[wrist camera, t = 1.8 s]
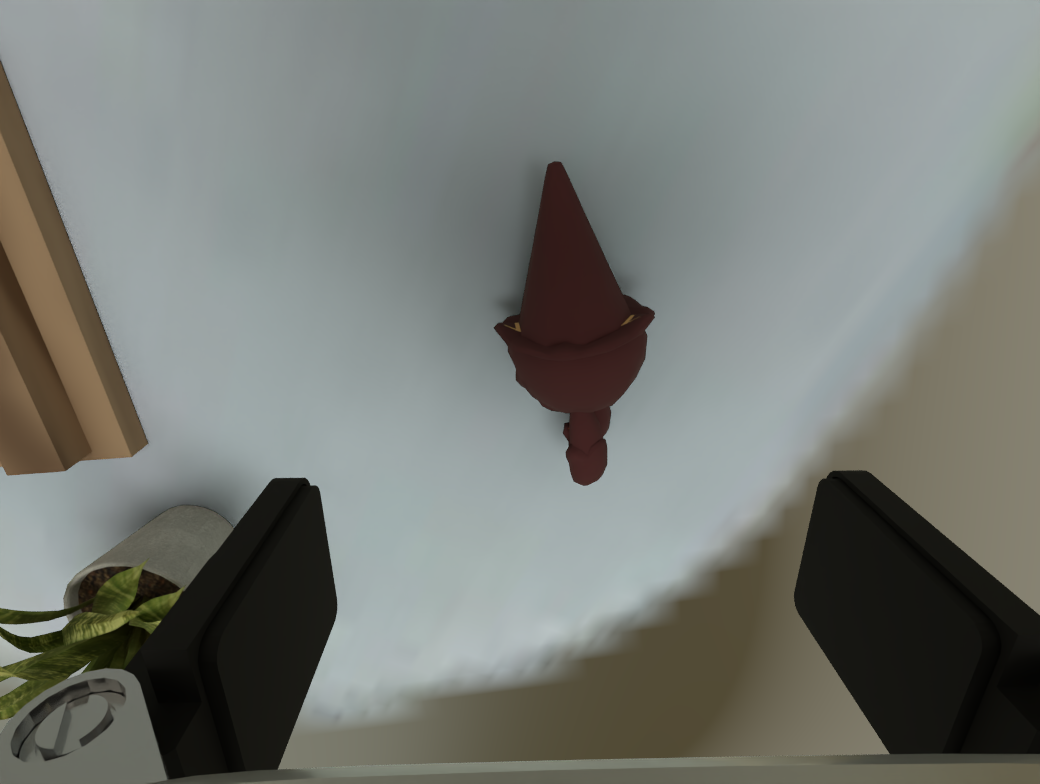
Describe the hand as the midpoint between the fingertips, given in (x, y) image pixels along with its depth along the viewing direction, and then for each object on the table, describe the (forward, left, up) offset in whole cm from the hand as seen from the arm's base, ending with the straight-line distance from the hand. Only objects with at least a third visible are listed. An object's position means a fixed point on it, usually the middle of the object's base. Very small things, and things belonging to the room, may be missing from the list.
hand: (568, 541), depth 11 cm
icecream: (-2, +1, -20) cm, 20 cm away
